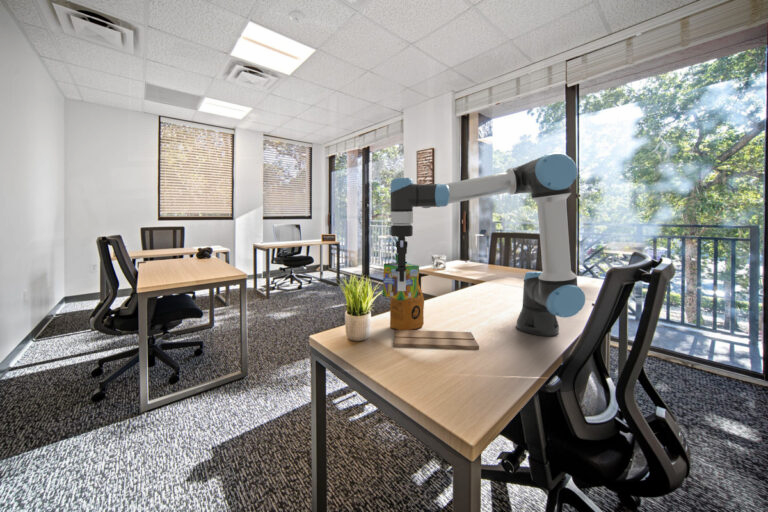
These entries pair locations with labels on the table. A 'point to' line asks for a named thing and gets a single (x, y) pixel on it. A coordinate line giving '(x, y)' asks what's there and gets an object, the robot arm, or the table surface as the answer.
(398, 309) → the coffee package
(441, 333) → the plank
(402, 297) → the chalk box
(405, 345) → the wooden board
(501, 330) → the table surface
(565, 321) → the table surface
